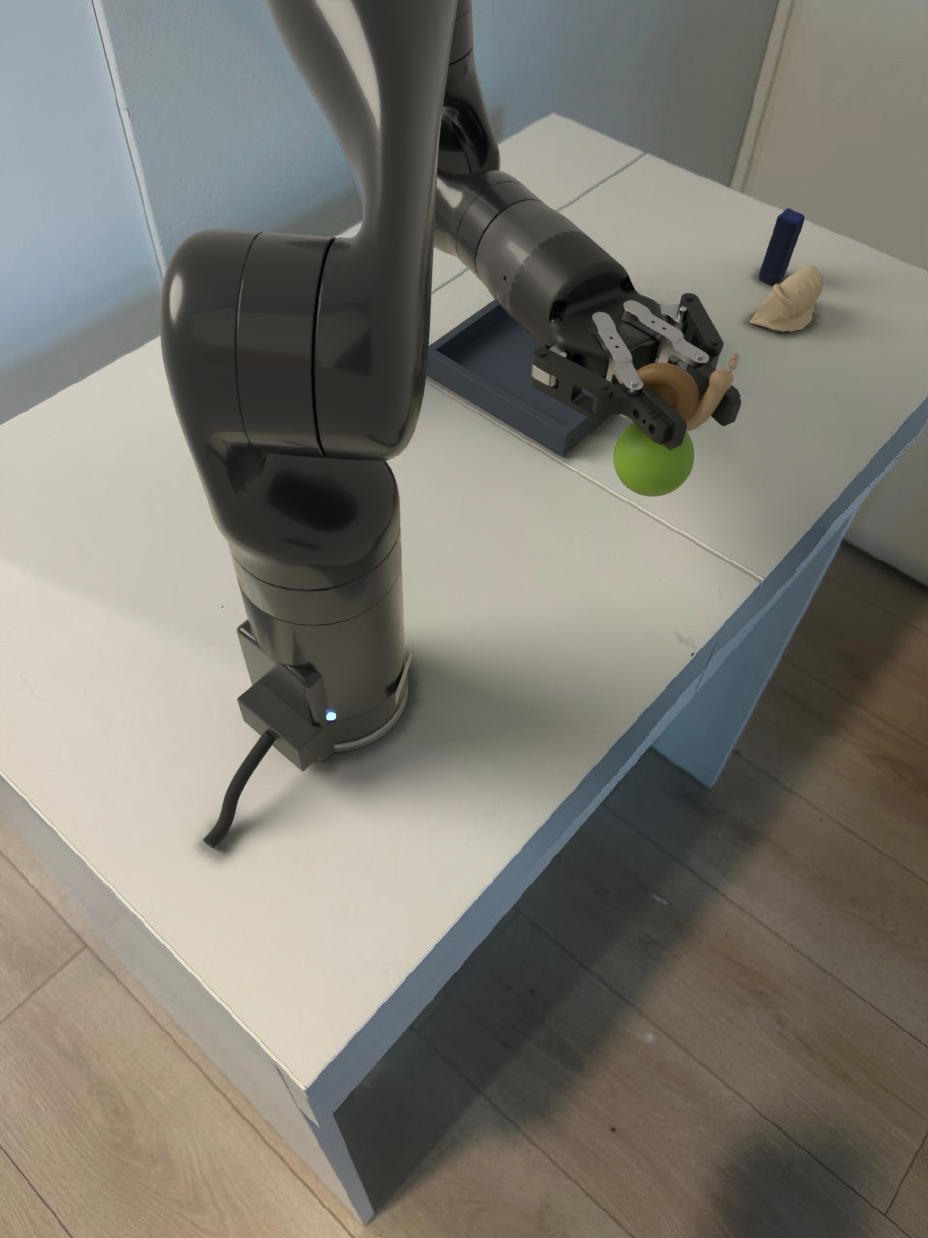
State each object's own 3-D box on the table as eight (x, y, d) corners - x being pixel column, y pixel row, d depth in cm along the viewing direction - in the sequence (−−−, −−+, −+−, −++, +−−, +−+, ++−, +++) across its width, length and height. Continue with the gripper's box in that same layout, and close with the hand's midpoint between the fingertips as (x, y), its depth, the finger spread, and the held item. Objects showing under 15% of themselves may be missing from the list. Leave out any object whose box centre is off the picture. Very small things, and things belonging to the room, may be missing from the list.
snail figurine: (692, 524, 65) (732, 387, 55) (600, 502, 66) (624, 364, 56) (706, 469, 68) (746, 330, 58) (618, 449, 69) (643, 310, 59)
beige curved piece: (825, 313, 90) (845, 263, 86) (772, 349, 87) (790, 299, 83) (790, 293, 92) (808, 243, 88) (737, 327, 89) (753, 277, 84)
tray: (562, 457, 78) (566, 435, 76) (422, 372, 84) (422, 349, 82) (691, 345, 87) (697, 322, 85) (556, 275, 93) (559, 252, 91)
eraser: (766, 268, 94) (787, 205, 89) (786, 278, 94) (808, 214, 88) (755, 278, 93) (775, 214, 88) (774, 288, 93) (796, 224, 87)
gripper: (467, 259, 62) (627, 418, 53) (640, 203, 66) (811, 341, 58) (463, 353, 68) (606, 509, 59) (621, 295, 72) (774, 432, 64)
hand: (706, 424), depth 59 cm, fingers closed on snail figurine, 3 cm apart
